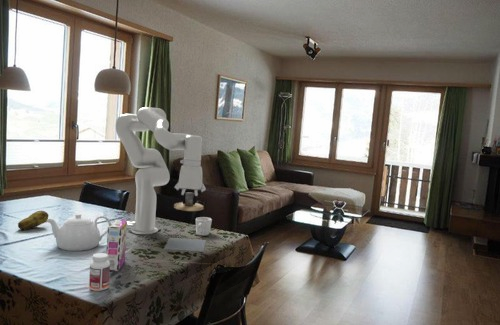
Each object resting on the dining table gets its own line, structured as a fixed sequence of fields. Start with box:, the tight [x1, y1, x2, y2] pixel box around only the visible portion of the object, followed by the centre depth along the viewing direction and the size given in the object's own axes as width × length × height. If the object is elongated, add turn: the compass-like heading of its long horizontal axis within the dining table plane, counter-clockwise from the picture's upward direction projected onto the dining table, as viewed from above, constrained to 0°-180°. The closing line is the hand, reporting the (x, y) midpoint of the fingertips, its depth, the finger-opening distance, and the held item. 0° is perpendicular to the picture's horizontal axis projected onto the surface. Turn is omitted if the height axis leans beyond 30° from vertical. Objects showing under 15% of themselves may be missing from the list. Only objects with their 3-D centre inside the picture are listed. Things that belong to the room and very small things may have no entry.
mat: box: [163, 237, 207, 253], centre depth 188 cm, size 17×17×1 cm
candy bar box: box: [106, 219, 128, 272], centre depth 156 cm, size 11×5×16 cm, turn 5°
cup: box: [195, 216, 213, 236], centre depth 205 cm, size 11×8×8 cm
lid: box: [173, 191, 204, 212], centre depth 186 cm, size 13×13×7 cm
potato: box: [17, 210, 49, 230], centre depth 194 cm, size 8×13×8 cm, turn 124°
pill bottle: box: [88, 252, 111, 292], centre depth 136 cm, size 6×6×11 cm
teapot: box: [45, 213, 112, 252], centre depth 176 cm, size 19×18×14 cm
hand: (189, 203), depth 186 cm, fingers closed on lid, 4 cm apart
